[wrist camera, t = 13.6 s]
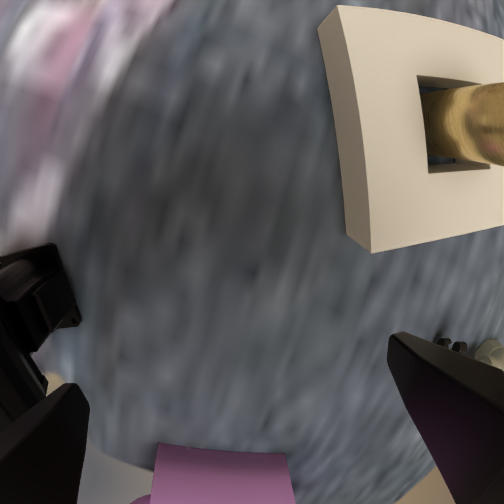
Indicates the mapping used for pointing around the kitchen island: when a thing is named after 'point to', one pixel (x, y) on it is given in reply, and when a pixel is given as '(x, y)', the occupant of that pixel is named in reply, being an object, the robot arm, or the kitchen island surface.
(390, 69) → the jig plate
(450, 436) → the robot arm
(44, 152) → the kitchen island surface
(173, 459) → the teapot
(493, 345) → the valve
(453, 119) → the brass bushing
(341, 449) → the kitchen island surface
